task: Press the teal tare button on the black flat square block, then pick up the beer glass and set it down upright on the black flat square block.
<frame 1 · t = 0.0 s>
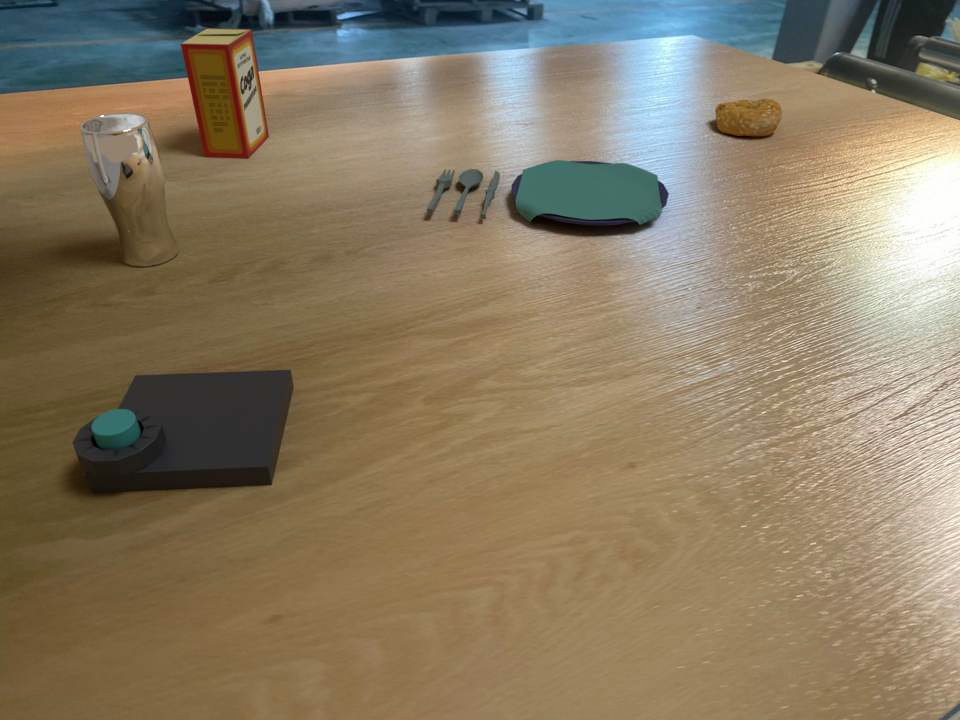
cutlery set: (548, 202, 98), on the table
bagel: (743, 130, 121), on the table
baking soda box: (238, 147, 115), on the table
tare button: (116, 429, 55), point 4 cm above the table, slide at 0.1 cm
black flat square block: (201, 435, 61), on the table
beer glass: (151, 256, 86), on the table
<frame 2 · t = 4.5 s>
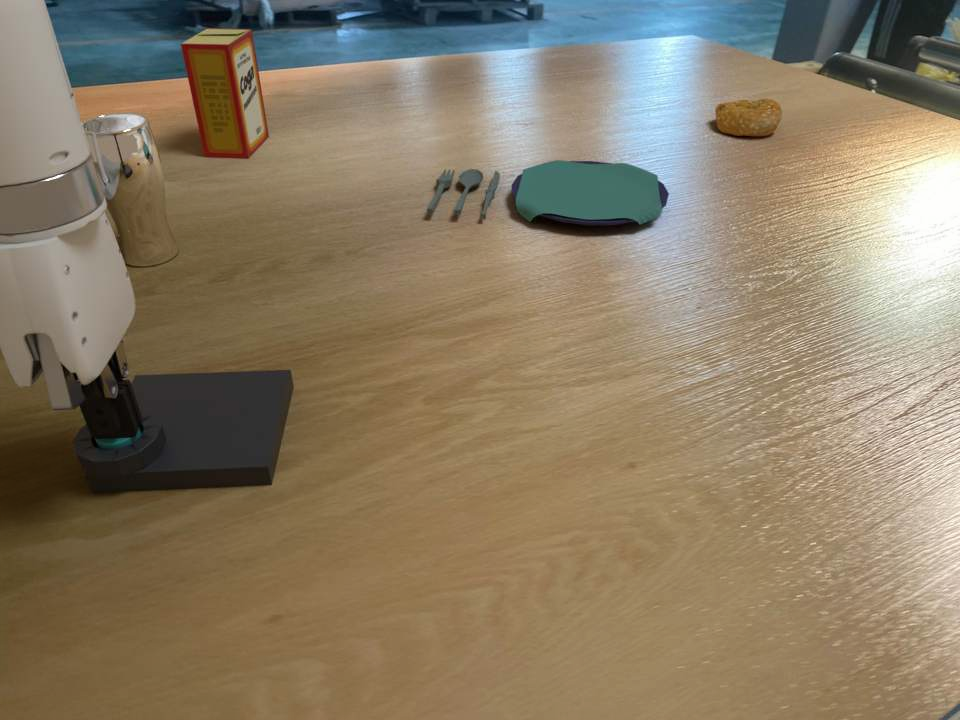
hand: (118, 430, 55), 4 cm above the table, tool pointing down, fingers closed
tare button: (119, 438, 56), point 3 cm above the table, slide at -0.8 cm, touching gripper
everything else where it was.
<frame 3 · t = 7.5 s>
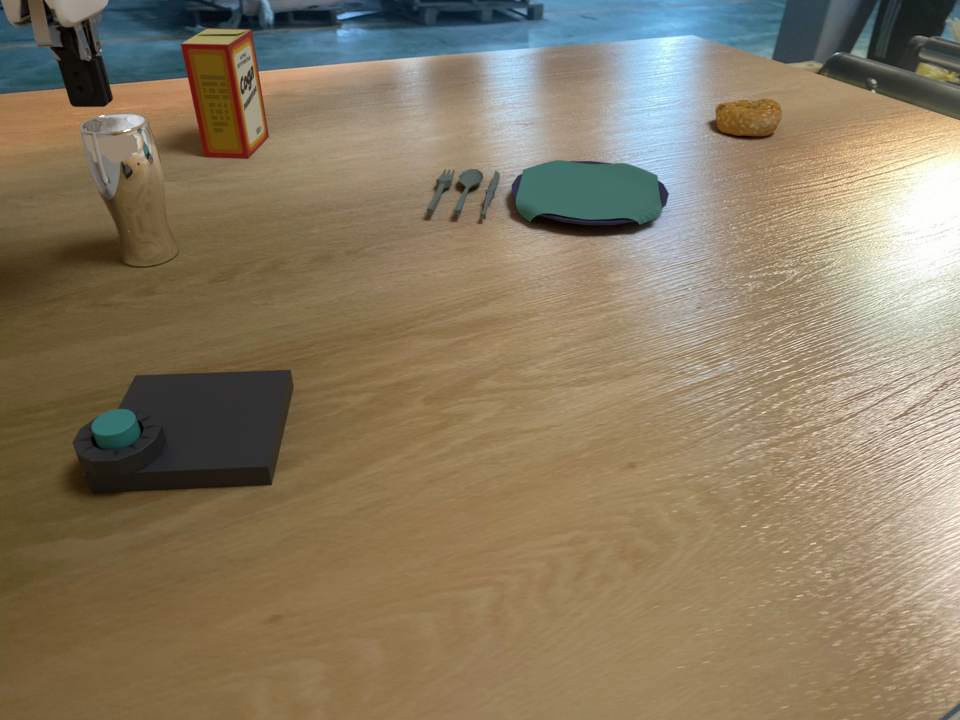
hand: (92, 103, 68), 19 cm above the table, tool pointing down, fingers closed
tare button: (116, 429, 55), point 4 cm above the table, slide at 0.1 cm
everything else where it was.
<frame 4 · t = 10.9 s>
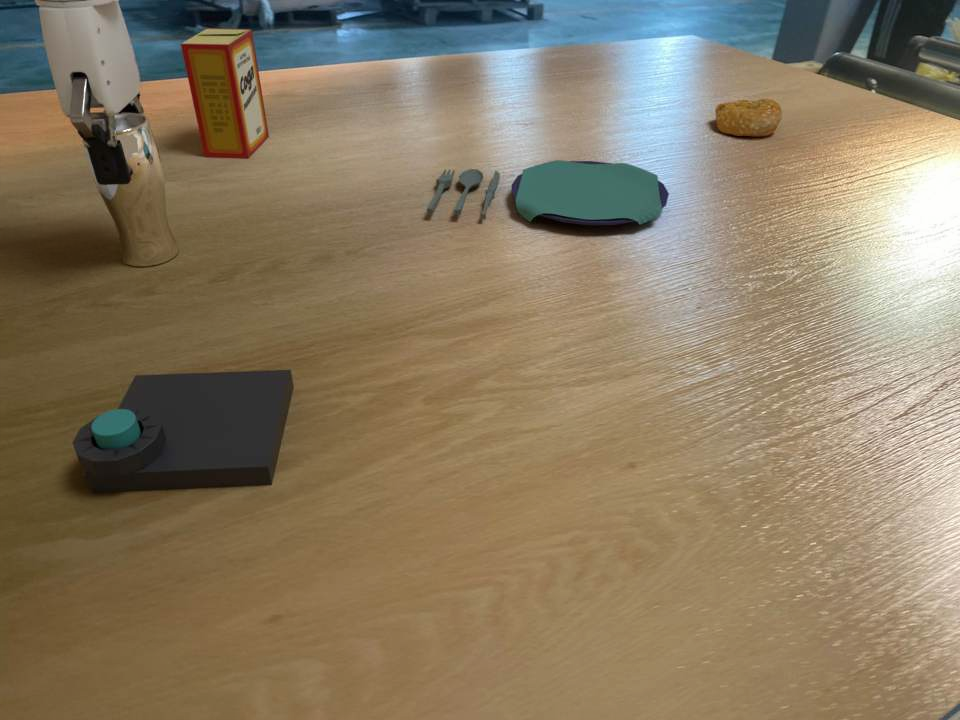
hand: (126, 167, 80), 10 cm above the table, tool pointing down, fingers closed on beer glass, 7 cm apart
beer glass: (151, 256, 86), on the table, touching gripper
everything else where it was.
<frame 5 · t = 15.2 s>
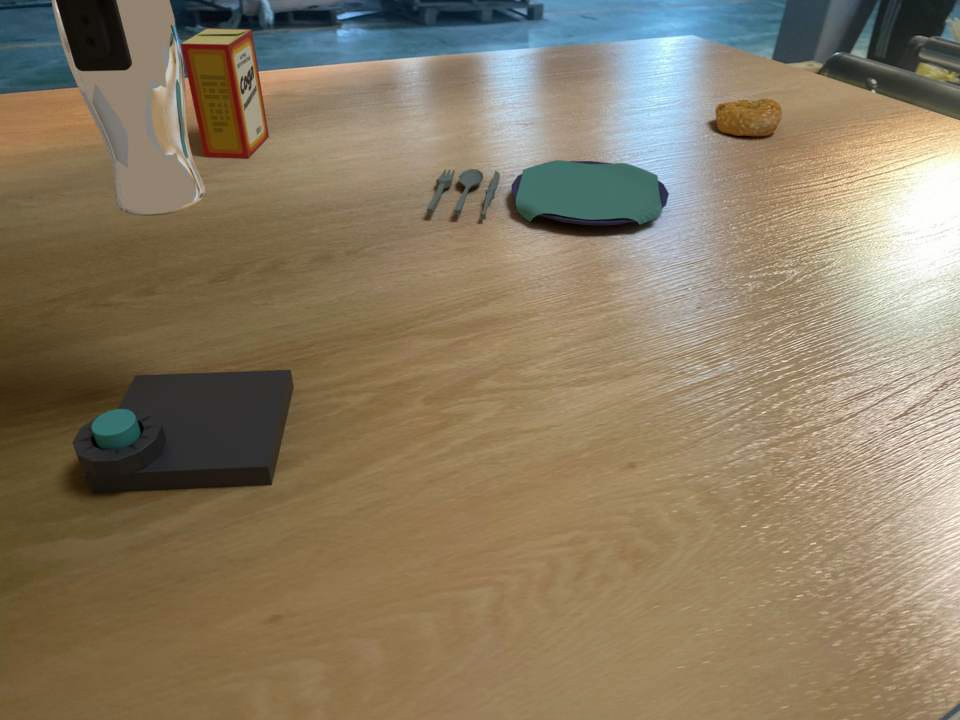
hand: (124, 51, 49), 28 cm above the table, tool pointing down, fingers closed on beer glass, 7 cm apart
beer glass: (163, 201, 55), point 17 cm above the table, touching gripper
everything else where it was.
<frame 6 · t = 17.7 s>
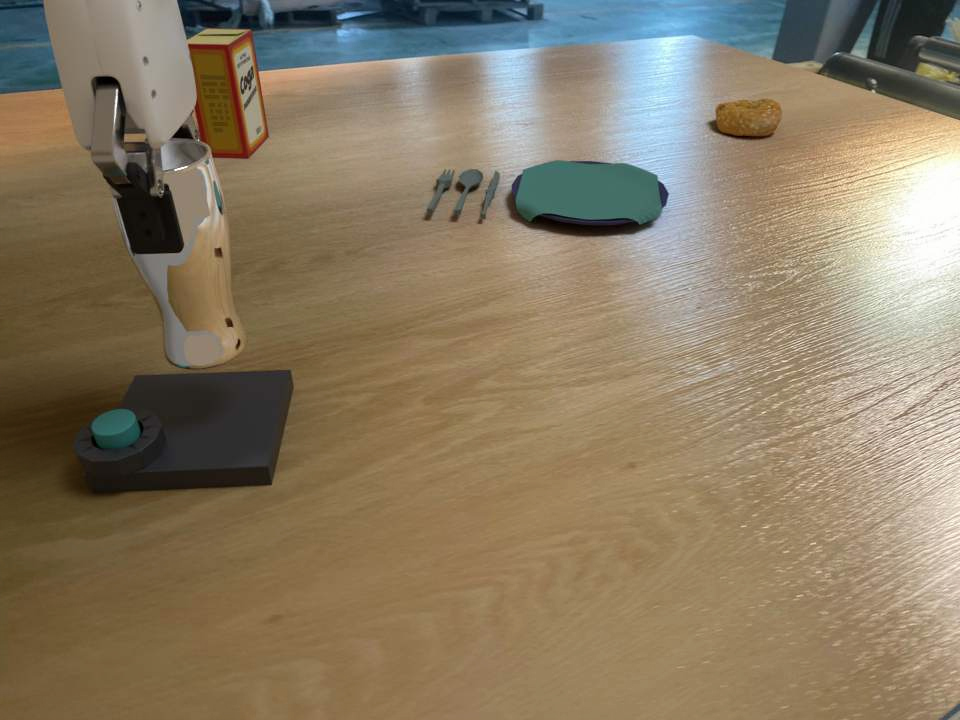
hand: (174, 223, 52), 18 cm above the table, tool pointing down, fingers closed on beer glass, 7 cm apart
beer glass: (206, 349, 58), point 7 cm above the table, touching gripper
everything else where it was.
when the fingers open (12 cm above the table, at t = 19.8 s): beer glass stays where it is, resting on black flat square block.
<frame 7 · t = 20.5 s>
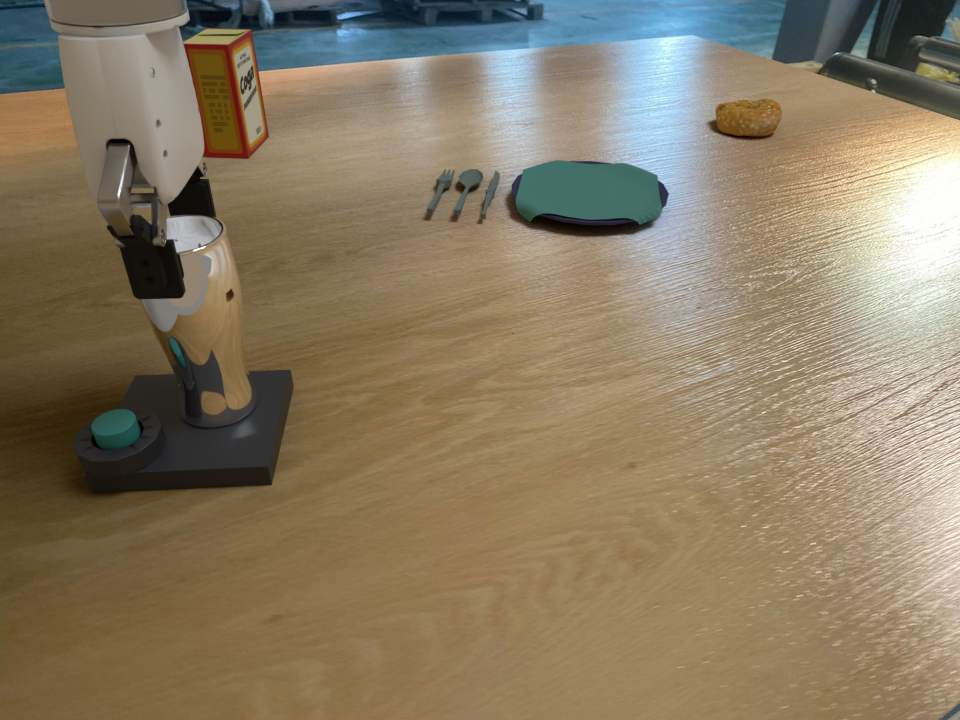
hand: (179, 261, 54), 15 cm above the table, tool pointing down, fingers open, 9 cm apart
beer glass: (220, 406, 61), point 2 cm above the table, touching black flat square block
everything else where it was.
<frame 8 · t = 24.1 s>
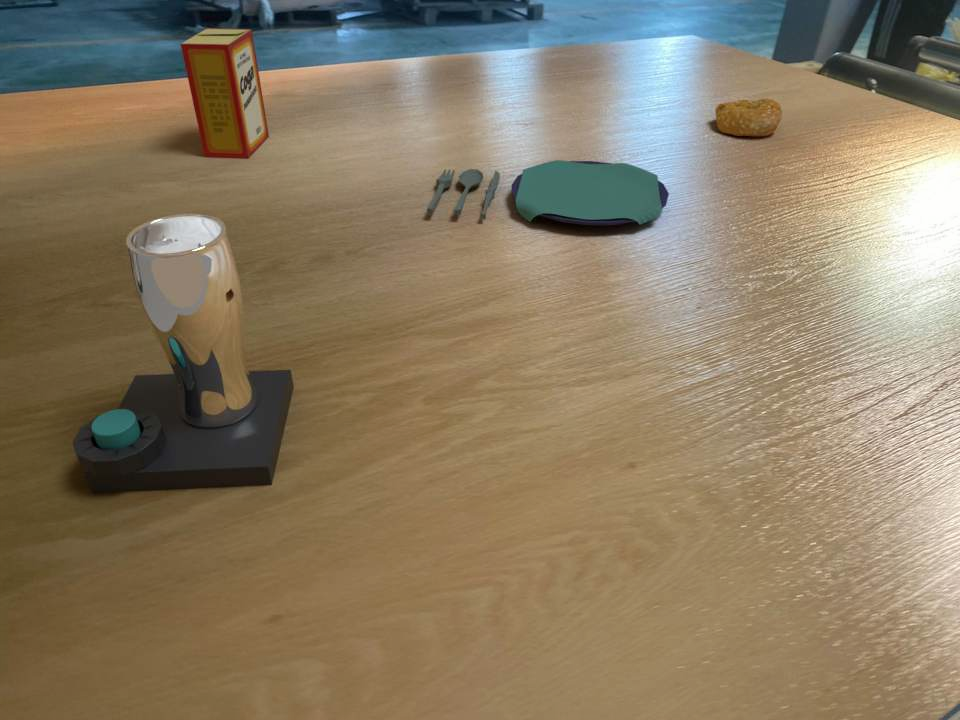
nothing on the table moved.
at the end: tare button pushed in 0.9 cm at the most during the clip, back to where it started at the end; beer glass inside the target area on the black flat square block (0.4 cm from its centre), point 1.7 cm above the black flat square block's base; beer glass tilted 0° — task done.
